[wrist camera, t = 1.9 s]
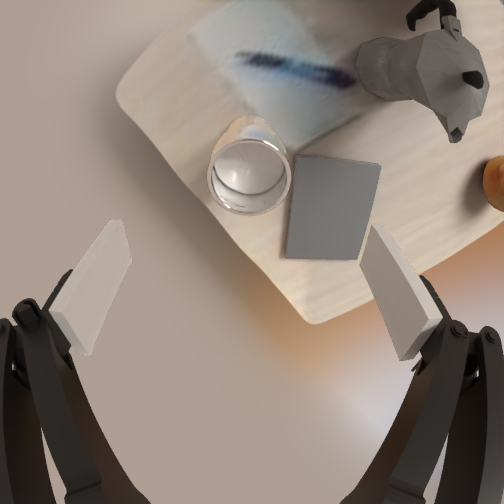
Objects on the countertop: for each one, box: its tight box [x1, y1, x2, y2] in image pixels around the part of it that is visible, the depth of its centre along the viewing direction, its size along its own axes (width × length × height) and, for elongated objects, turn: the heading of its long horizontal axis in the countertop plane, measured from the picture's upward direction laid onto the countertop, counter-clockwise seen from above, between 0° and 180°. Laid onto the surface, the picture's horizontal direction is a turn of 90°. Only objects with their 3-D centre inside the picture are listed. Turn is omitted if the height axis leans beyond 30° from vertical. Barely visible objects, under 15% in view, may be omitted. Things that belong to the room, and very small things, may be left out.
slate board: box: [285, 155, 381, 260], centre depth 38 cm, size 16×12×1 cm
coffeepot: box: [355, 0, 490, 143], centre depth 18 cm, size 15×9×18 cm, turn 8°
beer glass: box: [207, 115, 291, 216], centre depth 27 cm, size 7×7×15 cm
